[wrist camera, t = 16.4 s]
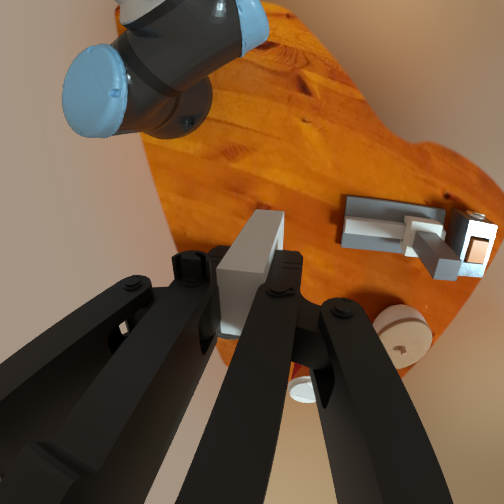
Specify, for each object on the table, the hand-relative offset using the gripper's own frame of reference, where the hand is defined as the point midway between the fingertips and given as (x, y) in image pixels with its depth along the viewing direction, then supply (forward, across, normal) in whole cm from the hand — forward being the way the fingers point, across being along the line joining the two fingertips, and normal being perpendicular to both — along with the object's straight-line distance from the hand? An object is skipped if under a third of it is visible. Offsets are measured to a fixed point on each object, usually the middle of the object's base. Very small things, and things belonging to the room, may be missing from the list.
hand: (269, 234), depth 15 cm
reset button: (+29, +33, -9) cm, 45 cm away
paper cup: (+32, +6, -38) cm, 50 cm away
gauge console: (+32, +33, -9) cm, 47 cm away
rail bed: (+32, +18, -9) cm, 38 cm away
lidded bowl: (+33, +23, -29) cm, 49 cm away
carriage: (+31, +22, -9) cm, 39 cm away
